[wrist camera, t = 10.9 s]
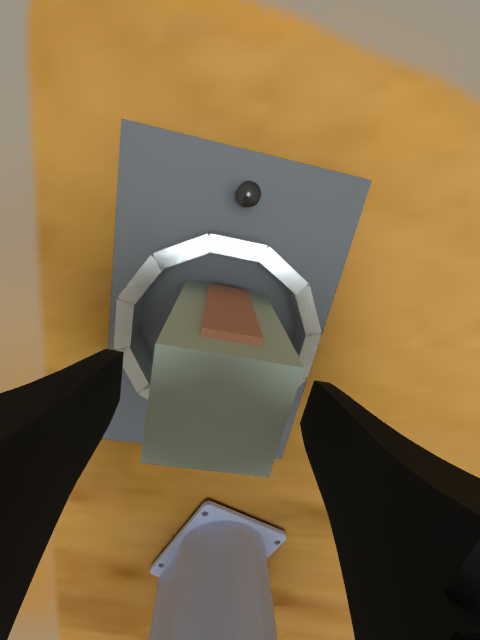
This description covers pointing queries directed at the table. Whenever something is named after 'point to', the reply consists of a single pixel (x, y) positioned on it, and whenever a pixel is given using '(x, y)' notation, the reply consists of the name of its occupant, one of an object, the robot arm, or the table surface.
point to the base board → (226, 217)
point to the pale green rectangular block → (220, 383)
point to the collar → (132, 296)
